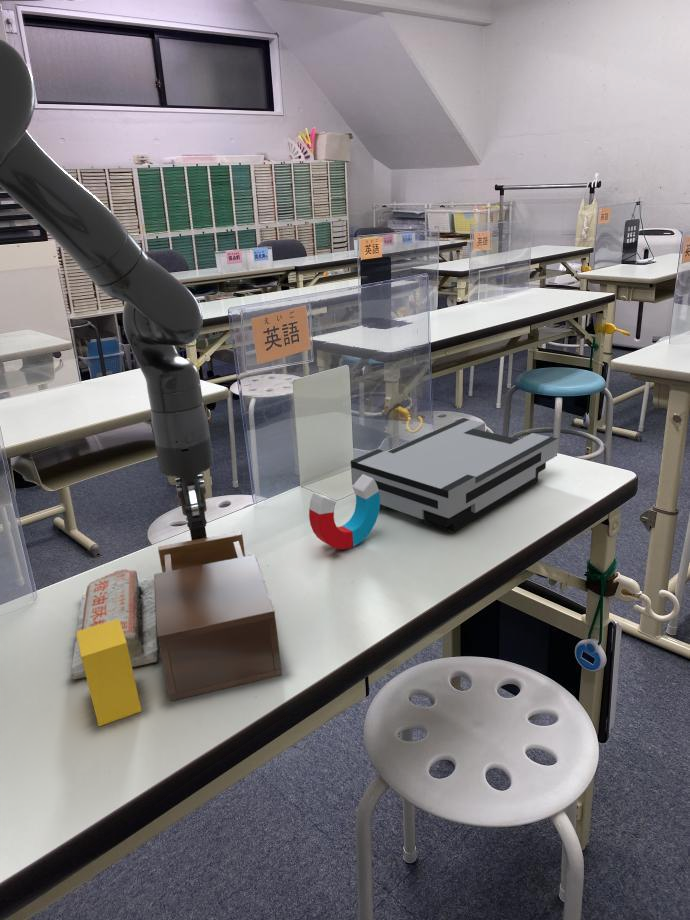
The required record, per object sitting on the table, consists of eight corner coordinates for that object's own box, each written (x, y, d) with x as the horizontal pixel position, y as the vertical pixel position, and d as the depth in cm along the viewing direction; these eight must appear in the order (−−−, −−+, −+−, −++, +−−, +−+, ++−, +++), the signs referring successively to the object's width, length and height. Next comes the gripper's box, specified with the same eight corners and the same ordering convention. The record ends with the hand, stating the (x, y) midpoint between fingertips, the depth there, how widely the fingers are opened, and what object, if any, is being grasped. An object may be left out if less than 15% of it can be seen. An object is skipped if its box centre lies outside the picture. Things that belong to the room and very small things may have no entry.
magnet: (371, 528, 110) (368, 471, 107) (382, 534, 108) (379, 476, 105) (312, 554, 104) (306, 494, 100) (322, 560, 102) (317, 500, 98)
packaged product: (153, 629, 80) (63, 649, 77) (160, 663, 82) (72, 683, 79) (150, 558, 96) (76, 572, 94) (156, 587, 98) (83, 602, 96)
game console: (556, 474, 126) (558, 432, 123) (449, 539, 105) (448, 491, 102) (463, 450, 140) (463, 412, 137) (353, 504, 119) (350, 460, 116)
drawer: (164, 574, 99) (157, 533, 97) (242, 559, 102) (237, 518, 100) (170, 640, 84) (161, 593, 82) (261, 620, 87) (255, 574, 84)
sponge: (98, 726, 72) (81, 656, 69) (92, 698, 77) (75, 631, 73) (141, 711, 74) (126, 642, 71) (133, 684, 78) (118, 618, 75)
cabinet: (165, 632, 88) (154, 573, 84) (262, 611, 90) (255, 554, 87) (170, 701, 75) (157, 636, 72) (282, 674, 78) (274, 611, 75)
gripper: (153, 426, 100) (172, 532, 106) (156, 456, 88) (177, 573, 94) (204, 418, 102) (220, 523, 108) (214, 447, 90) (231, 562, 96)
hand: (200, 546), depth 101 cm, fingers closed
